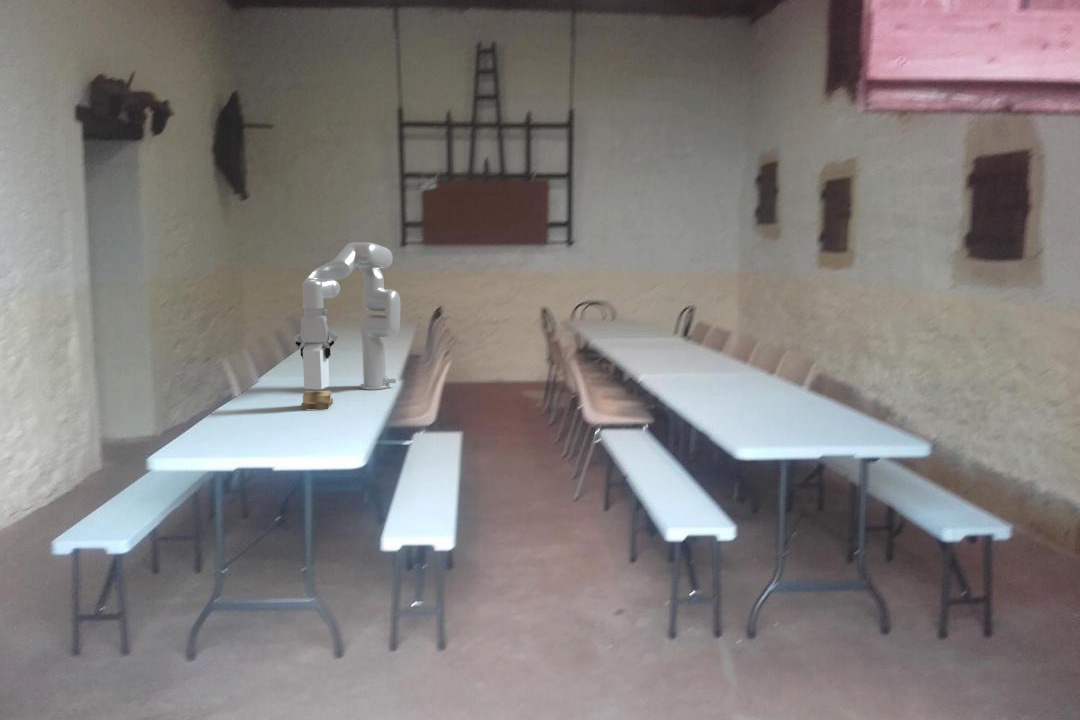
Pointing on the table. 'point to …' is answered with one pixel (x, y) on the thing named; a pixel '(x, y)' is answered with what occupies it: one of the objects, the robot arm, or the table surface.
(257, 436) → the table surface
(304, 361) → the milk carton
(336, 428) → the table surface
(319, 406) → the bottom slab
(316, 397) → the top slab
